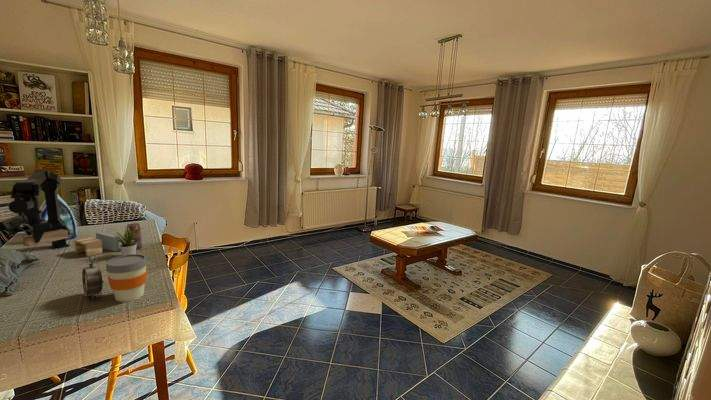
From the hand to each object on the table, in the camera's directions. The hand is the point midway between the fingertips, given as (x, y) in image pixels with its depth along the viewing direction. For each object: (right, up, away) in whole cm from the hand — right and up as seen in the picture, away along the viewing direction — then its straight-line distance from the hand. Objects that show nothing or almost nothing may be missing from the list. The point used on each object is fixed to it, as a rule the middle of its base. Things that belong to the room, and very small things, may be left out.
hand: (34, 241), depth 136 cm
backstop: (+12, -7, +26) cm, 30 cm away
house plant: (+32, -10, +18) cm, 38 cm away
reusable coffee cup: (+61, -18, -21) cm, 67 cm away
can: (+25, -8, +28) cm, 39 cm away
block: (+9, -9, +18) cm, 22 cm away
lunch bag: (-31, -3, +41) cm, 51 cm away
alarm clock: (+48, -18, -22) cm, 56 cm away
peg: (+1, 0, +4) cm, 5 cm away
